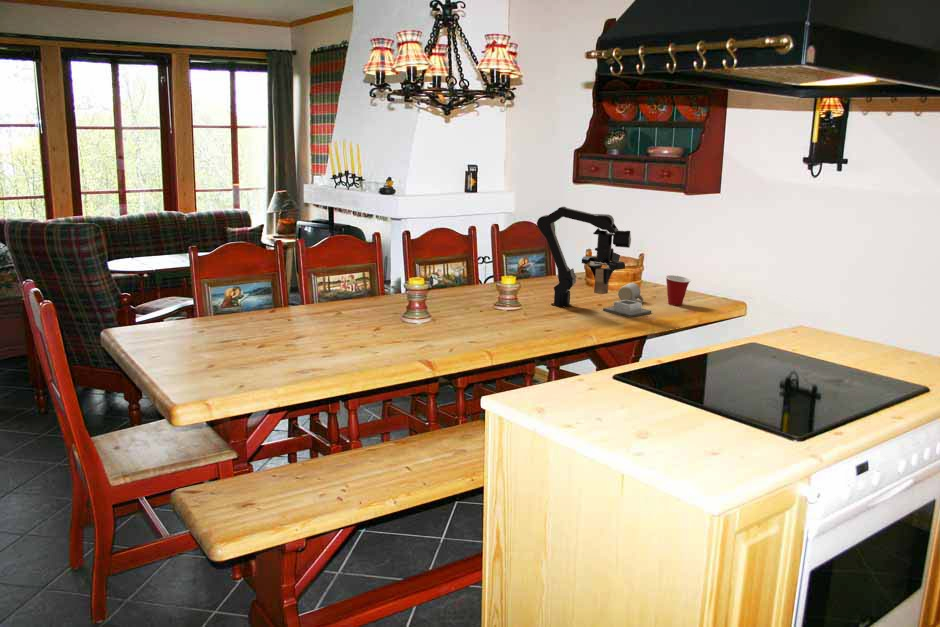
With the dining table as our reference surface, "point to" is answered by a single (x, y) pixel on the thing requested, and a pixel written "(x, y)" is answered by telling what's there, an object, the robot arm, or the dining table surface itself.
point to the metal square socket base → (627, 308)
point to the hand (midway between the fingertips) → (601, 283)
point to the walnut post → (600, 282)
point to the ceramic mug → (630, 292)
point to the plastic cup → (676, 289)
